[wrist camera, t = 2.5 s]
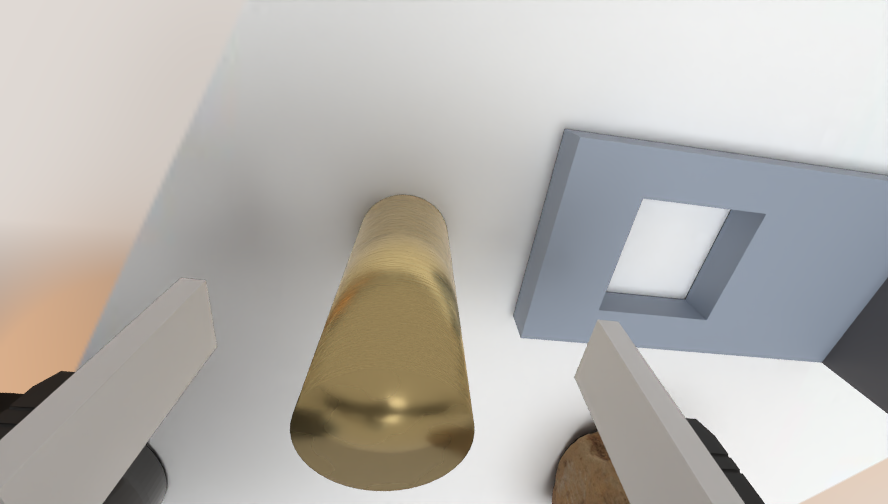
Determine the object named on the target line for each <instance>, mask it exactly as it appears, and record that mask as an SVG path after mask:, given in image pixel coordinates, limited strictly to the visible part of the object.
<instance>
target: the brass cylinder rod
mask: <svg viewBox="0 0 888 504" xmlns="http://www.w3.org/2000/svg"><path fill="white" fill-rule="evenodd" d="M290 434H291V440H292V443H293V445H294V448H295V450H296V451H297V453H298V455H299V456H300V457H301V458H302V460H303V461H304V462H305V463H306V464H307V465H308V466H309V467H310V468H312V469H313V470H314V471H316V472H317V473H318V474H320V475H322V476H324V477H325V478H327V479H329V480H332V481H334V482H336V483H339V484H342V485H345V486H349V487H353V488H357V489H363V490H372V491H394V490H403V489H409V488H413V487H417V486H421V485H424V484H427V483H430V482H432V481H434V480H436V479H439V478H440V477H442V476H444V475H446V474H447V473H449V472H450V471H451V470H453V469H454V468H455V467H456V466H457V465H458V464H459V463H460V462H461V461H462V460H463V459H464V458H465V456H466V455H467V453H468V451H469V450H470V448H471V445H472V442H473V438H474V421H473V413H472V406H471V399H470V392H469V384H468V377H467V370H466V362H465V355H464V348H463V341H462V333H461V326H460V319H459V312H458V304H457V297H456V290H455V283H454V275H453V268H452V261H451V254H450V246H449V239H448V232H447V226H446V223H445V220H444V218H443V217H442V215H441V214H440V212H439V211H438V210H437V209H436V208H435V207H434V206H433V205H432V204H431V203H429V202H427V201H426V200H424V199H422V198H419V197H416V196H411V195H395V196H390V197H387V198H385V199H383V200H380V201H379V202H377V203H376V204H375V205H374V206H372V207H371V208H370V210H369V211H368V212H367V214H366V215H365V217H364V219H363V222H362V224H361V227H360V230H359V233H358V235H357V238H356V241H355V244H354V246H353V249H352V252H351V255H350V257H349V260H348V263H347V266H346V268H345V271H344V274H343V277H342V280H341V282H340V285H339V288H338V291H337V293H336V296H335V299H334V302H333V304H332V307H331V310H330V313H329V315H328V318H327V321H326V324H325V327H324V329H323V332H322V335H321V338H320V340H319V343H318V346H317V349H316V351H315V354H314V357H313V360H312V362H311V365H310V368H309V371H308V373H307V376H306V379H305V382H304V385H303V387H302V390H301V393H300V396H299V398H298V401H297V404H296V407H295V409H294V412H293V415H292V419H291V423H290Z"/></svg>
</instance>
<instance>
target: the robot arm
mask: <svg viewBox="0 0 888 504" xmlns="http://www.w3.org/2000/svg"><path fill="white" fill-rule="evenodd" d="M216 347H217V343H216V337H215V331H214V325H213V319H212V313H211V307H210V301H209V295H208V289H207V283H206V280H199V279H189V278H180V279H179V280H178V281H176V282H175V283H174V284H173V285H172V286H171V287H170V288H169V289H168V290H166V291H165V292H164V293H163V294H162V295H161V296H160V297H159V298H158V299H156V300H155V301H154V302H153V303H152V304H151V305H150V306H149V307H148V308H146V309H145V310H144V311H143V312H142V313H141V314H140V315H139V316H138V317H136V318H135V319H134V320H133V321H132V322H131V323H130V324H129V325H128V326H126V327H125V328H124V329H123V330H122V331H121V332H120V333H119V334H118V335H116V336H115V337H114V338H113V339H112V340H111V341H110V342H109V343H108V344H106V345H105V346H104V347H103V348H102V349H101V350H100V351H99V352H98V353H96V354H95V355H94V356H93V357H92V358H91V359H90V360H89V361H88V362H86V363H85V364H84V365H83V366H82V367H81V368H80V369H79V370H78V371H76V372H66V371H60V372H59V373H57V374H55V375H53V376H52V377H50V378H48V379H46V380H44V381H43V382H40V383H39V384H37V385H35V386H33V387H32V388H31V389H29V390H28V391H27V392H26V393H25V394H16V393H0V504H161V502H162V500H163V498H164V496H165V493H166V488H167V482H166V476H165V473H164V470H163V468H162V466H161V464H160V462H159V460H158V459H157V457H156V456H155V455H154V453H153V452H152V451H151V450H150V449H149V448H148V447H147V446H146V443H147V442H148V441H149V439H150V438H151V436H152V435H153V434H154V432H155V431H156V430H157V428H158V427H159V425H160V424H161V423H162V421H163V420H164V419H165V417H166V416H167V414H168V413H169V412H170V410H171V409H172V408H173V406H174V405H175V404H176V402H177V401H178V399H179V398H180V397H181V395H182V394H183V393H184V391H185V390H186V388H187V387H188V386H189V384H190V383H191V382H192V380H193V379H194V377H195V376H196V375H197V373H198V372H199V371H200V369H201V368H202V366H203V365H204V364H205V362H206V361H207V360H208V358H209V357H210V355H211V354H212V353H213V351H214V350H215V349H216ZM575 380H576V382H577V384H578V387H579V389H580V391H581V393H582V396H583V398H584V400H585V402H586V405H587V407H588V409H589V411H590V414H591V416H592V418H593V421H594V423H595V425H596V427H597V430H598V432H599V434H600V436H601V439H602V441H603V443H604V445H605V448H606V450H607V452H608V455H609V457H610V459H611V461H612V464H613V466H614V468H615V470H616V473H617V475H618V477H619V479H620V482H621V484H622V486H623V489H624V491H625V493H626V495H627V498H628V500H629V502H630V504H765V503H764V502H763V500H762V499H761V498H760V496H759V495H758V494H757V492H756V491H755V490H754V488H753V487H752V486H751V484H750V483H749V482H748V480H747V479H746V477H745V476H744V475H743V474H741V473H740V471H739V470H740V469H739V468H738V467H737V465H736V464H735V463H734V461H733V460H732V459H731V458H729V457H728V453H727V452H726V450H725V449H724V448H723V446H722V445H721V444H720V442H719V441H718V440H717V438H716V437H715V436H714V435H713V434H712V433H711V432H710V431H709V430H708V429H707V428H705V427H704V426H703V425H702V424H701V423H700V422H699V421H698V420H696V419H689V418H685V417H684V415H683V414H682V413H681V411H680V410H679V408H678V407H677V405H676V404H675V402H674V401H673V400H672V398H671V397H670V395H669V394H668V392H667V391H666V390H665V388H664V387H663V385H662V384H661V382H660V381H659V379H658V378H657V377H656V375H655V374H654V372H653V371H652V369H651V368H650V367H649V365H648V364H647V362H646V361H645V359H644V358H643V356H642V355H641V354H640V352H639V351H638V349H637V348H636V346H635V345H634V344H633V342H632V341H631V339H630V338H629V336H628V335H627V333H626V332H625V331H624V329H623V328H622V326H621V325H620V323H619V322H617V321H607V320H597V322H596V325H595V327H594V330H593V332H592V335H591V337H590V340H589V342H588V345H587V347H586V349H585V352H584V354H583V357H582V359H581V362H580V364H579V367H578V369H577V372H576V374H575Z"/></svg>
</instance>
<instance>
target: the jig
mask: <svg viewBox="0 0 888 504" xmlns="http://www.w3.org/2000/svg"><path fill="white" fill-rule="evenodd" d="M643 198H645V199H653V200H660V201H668V202H676V203H684V204H692V205H700V206H707V207H715V208H723V209H731V211H730V213H729V215H728V217H727V219H726V221H725V223H724V225H723V227H722V229H721V231H720V233H719V235H718V237H717V239H716V241H715V242H714V244H713V246H712V248H711V250H710V252H709V254H708V256H707V258H706V260H705V262H704V264H703V266H702V268H701V270H700V272H699V274H698V276H697V277H696V279H695V281H694V283H693V285H692V287H691V289H690V291H689V293H688V295H687V297H686V299H685V300H683V299H672V298H662V297H652V296H642V295H632V294H621V293H611V292H606V290H607V288H608V285H609V283H610V280H611V278H612V275H613V273H614V270H615V268H616V265H617V263H618V260H619V257H620V255H621V252H622V250H623V247H624V245H625V242H626V240H627V237H628V235H629V232H630V230H631V227H632V225H633V222H634V220H635V217H636V215H637V212H638V210H639V207H640V205H641V202H642V199H643ZM513 317H514V320H515V322H516V325H517V328H518V331H519V334H520V337H521V338H529V339H541V340H554V341H566V342H578V343H588V342H589V340H590V337H591V335H592V332H593V330H594V327H595V325H596V322H597V320H607V321H617V322H619V323H620V325H621V326H622V328H623V329H624V331H625V332H626V333H627V335H628V336H629V338H630V339H631V341H632V342H633V344H634V345H635V346H636V347H639V348H651V349H663V350H675V351H688V352H700V353H712V354H724V355H736V356H749V357H761V358H773V359H785V360H797V361H809V362H822V363H823V364H824V365H826V366H827V367H828V368H829V369H831V370H832V371H833V372H835V373H836V374H837V375H838V376H840V377H841V378H842V379H844V380H845V381H846V382H847V383H849V384H850V385H851V386H853V387H854V388H855V389H857V390H858V391H859V392H860V393H862V394H863V395H864V396H866V397H867V398H868V399H869V400H871V401H872V402H873V403H875V404H876V405H877V406H878V407H880V408H881V409H882V410H884V411H885V412H886V413H888V176H887V175H880V174H873V173H866V172H859V171H852V170H845V169H839V168H832V167H825V166H818V165H811V164H804V163H797V162H790V161H783V160H777V159H770V158H763V157H756V156H749V155H742V154H735V153H728V152H721V151H714V150H708V149H701V148H694V147H687V146H680V145H673V144H666V143H659V142H652V141H645V140H639V139H632V138H625V137H618V136H611V135H604V134H597V133H590V132H583V131H576V130H570V129H565V130H564V134H563V138H562V141H561V145H560V149H559V152H558V156H557V159H556V163H555V167H554V170H553V174H552V178H551V181H550V185H549V188H548V192H547V196H546V199H545V203H544V207H543V210H542V214H541V217H540V221H539V225H538V228H537V232H536V236H535V239H534V243H533V246H532V250H531V254H530V257H529V261H528V265H527V268H526V272H525V275H524V279H523V283H522V286H521V290H520V293H519V297H518V301H517V304H516V308H515V312H514V315H513Z"/></svg>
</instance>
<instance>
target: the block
mask: <svg viewBox="0 0 888 504" xmlns="http://www.w3.org/2000/svg"><path fill="white" fill-rule="evenodd" d="M552 504H630V502H629V500H628V498H627V495H626V493H625V491H624V489H623V486H622V484H621V482H620V479H619V477H618V475H617V473H616V470H615V468H614V466H613V464H612V461H611V459H610V457H609V455H608V452H607V450H606V448H605V445H604V443H603V441H602V439H601V436H600V434H599V432H598V431H597V432H594V433H592V434H587V435H585V436H583V437H580V438H579V439H578V440H577V441H576V442H574V443H573V444H572V445H571V446H570V447H569V448H568V449H567V450H566V452H565V453H564V454H563V456H562V457H561V459H560V462H559V465H558V469H557V472H556V480H555V485H554V488H553V494H552Z"/></svg>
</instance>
